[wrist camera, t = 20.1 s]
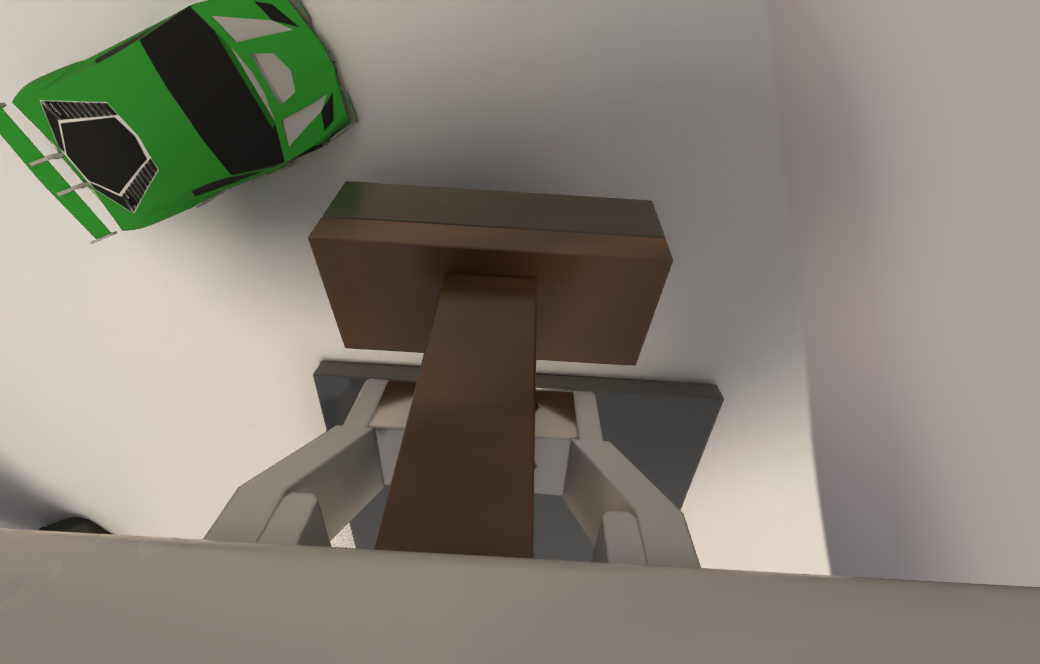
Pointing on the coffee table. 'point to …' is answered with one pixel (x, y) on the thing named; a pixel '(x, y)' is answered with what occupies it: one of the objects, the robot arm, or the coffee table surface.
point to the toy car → (184, 111)
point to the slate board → (624, 422)
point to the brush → (483, 334)
